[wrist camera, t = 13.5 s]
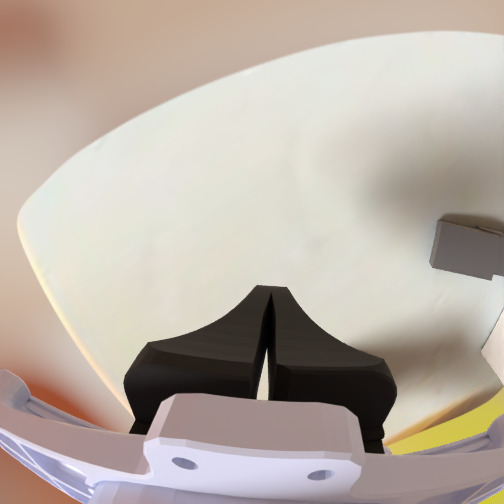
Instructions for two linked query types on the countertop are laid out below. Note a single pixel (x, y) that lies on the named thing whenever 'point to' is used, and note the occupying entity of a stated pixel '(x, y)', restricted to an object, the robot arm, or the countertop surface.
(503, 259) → the domino
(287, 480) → the robot arm
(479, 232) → the domino
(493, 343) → the milk carton
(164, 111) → the countertop surface
